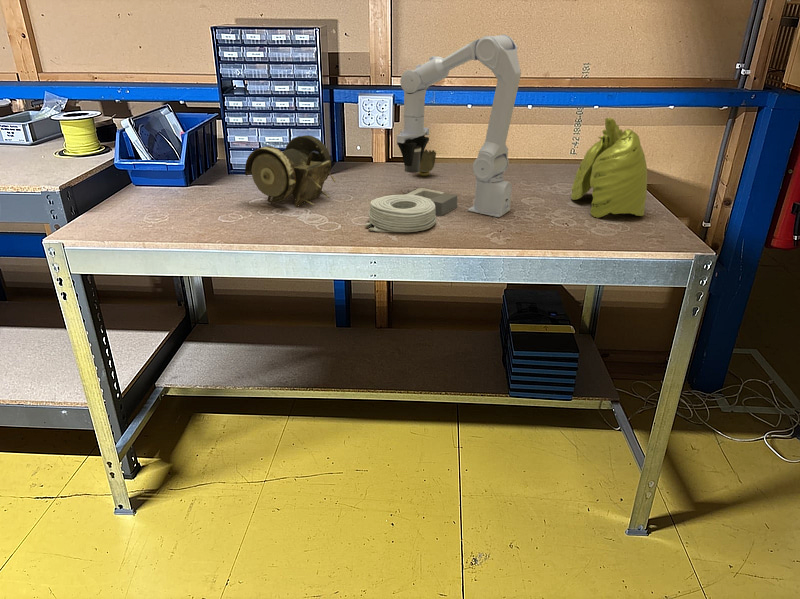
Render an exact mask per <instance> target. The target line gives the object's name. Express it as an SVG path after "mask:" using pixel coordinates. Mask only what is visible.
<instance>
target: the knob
mask: <svg viewBox="0 0 800 599" xmlns="http://www.w3.org/2000/svg"><path fill="white" fill-rule="evenodd" d="M420 151H421V147H420V146H418V145H416V147H415V150H414V154H413V162H412V166H405V165H404V172H406V173H409V174H413V173H414V174H416V173H417V174H418V173H419V171H420Z"/></svg>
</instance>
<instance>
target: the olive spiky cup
mask: <svg viewBox="0 0 800 599" xmlns="http://www.w3.org/2000/svg"><path fill="white" fill-rule="evenodd" d="M436 157H437V152H436V151H435V150H434V149H433V150H431V149H429V151H428V149H427V148H426V149H424V152H423V156H422V159H421V162H420V171H419V172H417V174H418V176H419V177H421V178H428V177H429V176H430V172H431V171H432V170H433V169H434V167H435V163H436Z"/></svg>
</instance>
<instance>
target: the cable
mask: <svg viewBox="0 0 800 599" xmlns="http://www.w3.org/2000/svg"><path fill="white" fill-rule="evenodd" d="M368 220H369V222H367V223H365V226H364V227H366V228H367V227H370V228H368V231H370V232H373V231H375V232H374V233H415V232H420V231H425V230H428V229H430V228H433V226H434V225H435V224H436V222H437V215H436V212H435V204H434V203H433V201H431V200H430V199H428V198H425V197H422V196H416V195H405V194H391V195H384V196H380V197H377V198H374V199H371V200H370V204H369V210H368ZM372 226H373V227H372Z"/></svg>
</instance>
